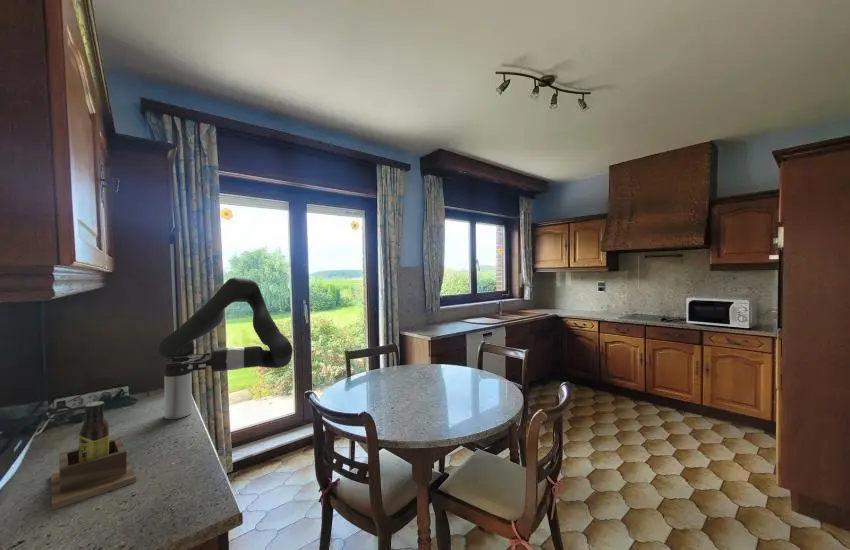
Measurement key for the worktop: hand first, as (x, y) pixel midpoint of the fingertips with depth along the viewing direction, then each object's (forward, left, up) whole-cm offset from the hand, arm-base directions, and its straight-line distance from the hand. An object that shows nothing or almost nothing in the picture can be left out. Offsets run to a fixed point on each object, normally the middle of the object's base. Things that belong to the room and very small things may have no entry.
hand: (169, 364), depth 109 cm
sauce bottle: (-3, -17, -29) cm, 33 cm away
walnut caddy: (-3, -17, -30) cm, 35 cm away
